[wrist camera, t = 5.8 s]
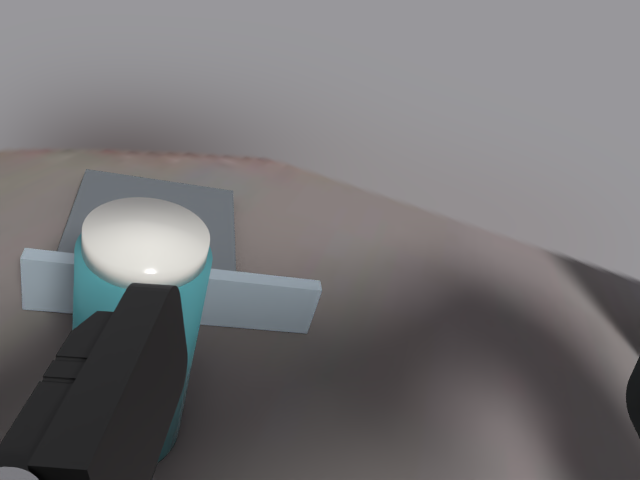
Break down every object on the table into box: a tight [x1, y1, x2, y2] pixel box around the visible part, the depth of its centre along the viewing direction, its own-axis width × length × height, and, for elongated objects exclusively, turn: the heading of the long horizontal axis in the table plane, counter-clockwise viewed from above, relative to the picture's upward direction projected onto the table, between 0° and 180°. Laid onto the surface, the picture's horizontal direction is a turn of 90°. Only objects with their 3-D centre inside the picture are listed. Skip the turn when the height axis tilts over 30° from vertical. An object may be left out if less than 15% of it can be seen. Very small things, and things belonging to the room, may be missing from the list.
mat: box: [57, 169, 236, 271], centre depth 44 cm, size 12×13×1 cm
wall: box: [20, 248, 322, 334], centre depth 37 cm, size 18×1×4 cm, turn 98°
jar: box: [72, 197, 213, 463], centre depth 27 cm, size 6×6×13 cm
